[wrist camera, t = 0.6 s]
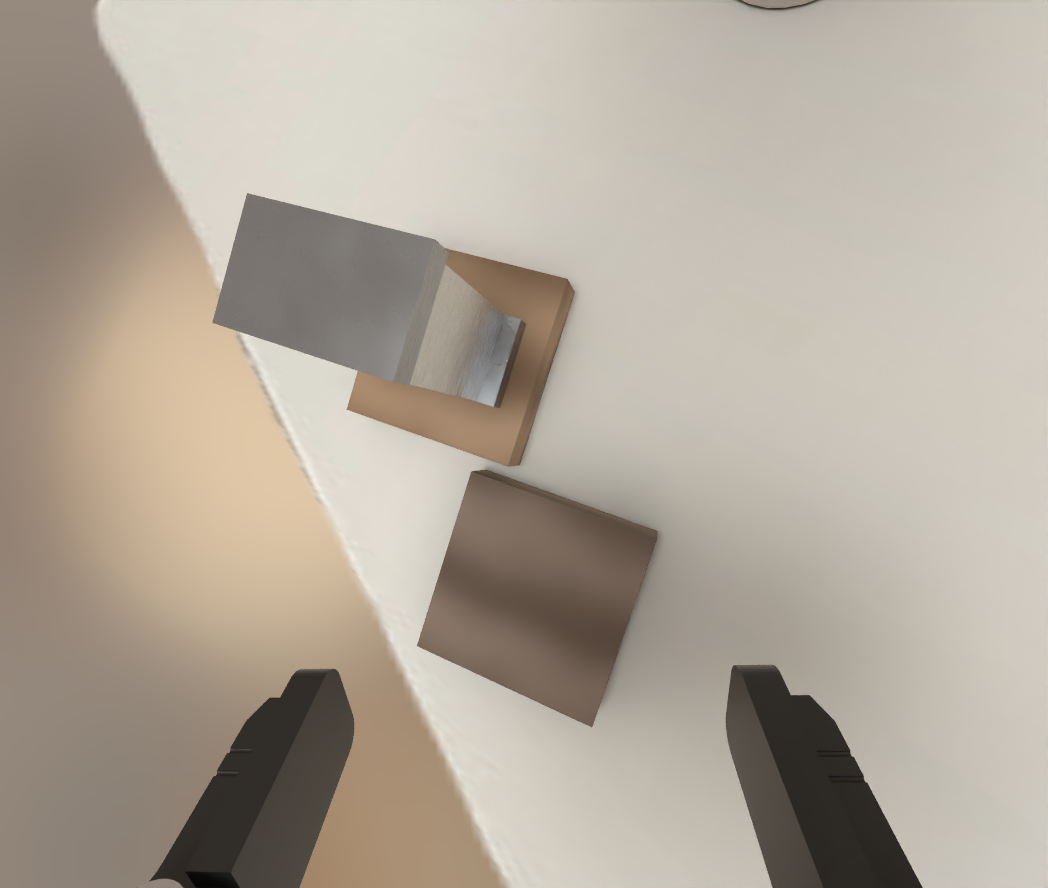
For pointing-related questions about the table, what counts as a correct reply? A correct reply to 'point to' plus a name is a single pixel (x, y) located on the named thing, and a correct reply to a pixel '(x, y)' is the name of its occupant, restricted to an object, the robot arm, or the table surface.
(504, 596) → the stand
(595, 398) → the table surface
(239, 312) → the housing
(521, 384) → the stand
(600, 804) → the table surface
